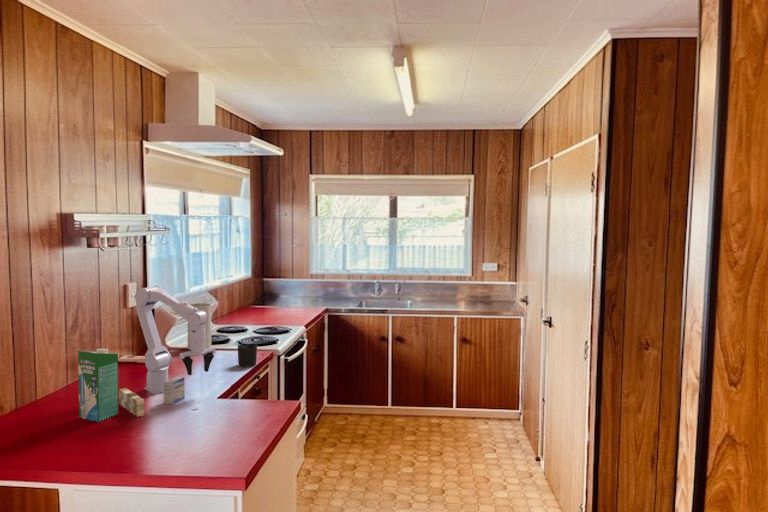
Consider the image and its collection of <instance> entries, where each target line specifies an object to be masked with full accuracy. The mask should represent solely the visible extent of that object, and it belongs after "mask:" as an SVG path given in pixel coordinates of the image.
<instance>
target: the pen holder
mask: <svg viewBox="0 0 768 512" xmlns="http://www.w3.org/2000/svg"><path fill="white" fill-rule="evenodd" d="M257 355H258V345H257V344H256V343H249V344H238V345H237V358H238V359H237V360H238V361H237V364H239V365H240V366H252V367H254V366H253V365H255V366H256V365H257V359H258V357H257ZM239 365H238V366H239ZM240 366H239V367H240Z"/></svg>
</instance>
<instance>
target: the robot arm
mask: <svg viewBox="0 0 768 512" xmlns="http://www.w3.org/2000/svg"><path fill="white" fill-rule="evenodd" d="M134 300H135V303H136V305H135V310H136V314H137V316H138V320H139V324H140V326H141V330H142V333H143V337H144V341H145V344H146V346H147V351H146V353H145V354H144V358H145V361H144V364H145V368H146V370H147V373H146V386H145V387H144V390H146V391H148V392H149V393H150V394H153V395H155V394H159V393H160V394H161V393H164V392H163V383H164V382H166V381H168V380H169V368H170V365H171V364H172V361H173V357H172V355H171V354H170V352H169V350H168V348H167V347H166V346H164V345H163V344H162V340H161V338H160V333H159V331H158V328H157V325H156V321H155V318H154V315H153V314H154V313H153V312H152V311H153V310H152V309H153V308H154V306H155V305H156V304H157V303H158V302H160V303H163V304H165V305H166V306H168V307H169V308H172V309H174V312H175V314H176V315H178V316H179V317H182V319H184V320H186V321H187V325H188V324H189V325H190V330H191V351H190V350H187V351H184V352H181V353H179V358H180V359H181V360H182V362H183V363H184V364H183V365H184V366H185V369H186V373H187V375H189V376H192V373H193V372H192V371H193V369H192V367H193V362H194V360H193V359H192V358H193V357H198V356H199V357H200V356H203V370H204V372H205V373H208V372H209V369H210V366H211V363H212V360H213V359H214V357H215V354H216V348H215V347H211V348H207V349H205V323H206V322H207V321H208V314H207V313H206V312H205V311H204V310H197V308H194V307H192V306H191V305H189V304H190V303H189V302H188V301H181V302H180V300H179V301H178V299H176V298H175V297H173V296H172V295H171V294H169V293H168V292H166V291H165V289H164V288H162V287H161V286H159V285H154V286H149V287H140V288H138V289H137V290H136V292H135V294H134Z"/></svg>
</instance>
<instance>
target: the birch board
mask: <svg viewBox="0 0 768 512" xmlns="http://www.w3.org/2000/svg"><path fill="white" fill-rule="evenodd" d="M118 403H119V405H120V406H121V407H122V406H123V407H122V408H124V409H125V408H126V409H125V410H127V411H128V412H130V413H131V414H132V413H133V415H134V416H135V415H136V416H135V417H137V418H139V416H140V417H144V416H145V399H144V398H142V397H141V396H139V394H137V392H133V391H131V390H129V389H128V388H127V387H124V388H118Z"/></svg>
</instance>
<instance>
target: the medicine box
mask: <svg viewBox="0 0 768 512" xmlns="http://www.w3.org/2000/svg"><path fill="white" fill-rule="evenodd" d="M162 393H163V404H164V405H165V404H166V405H175V404H177V403H178V402H180V401H181V400H184V399H185V398H186V397H185V396H186V395H185V377H183V376H182V377H181V376H174V377H173V378H171V379H168V381H166V382H164V383H163V392H162Z"/></svg>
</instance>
